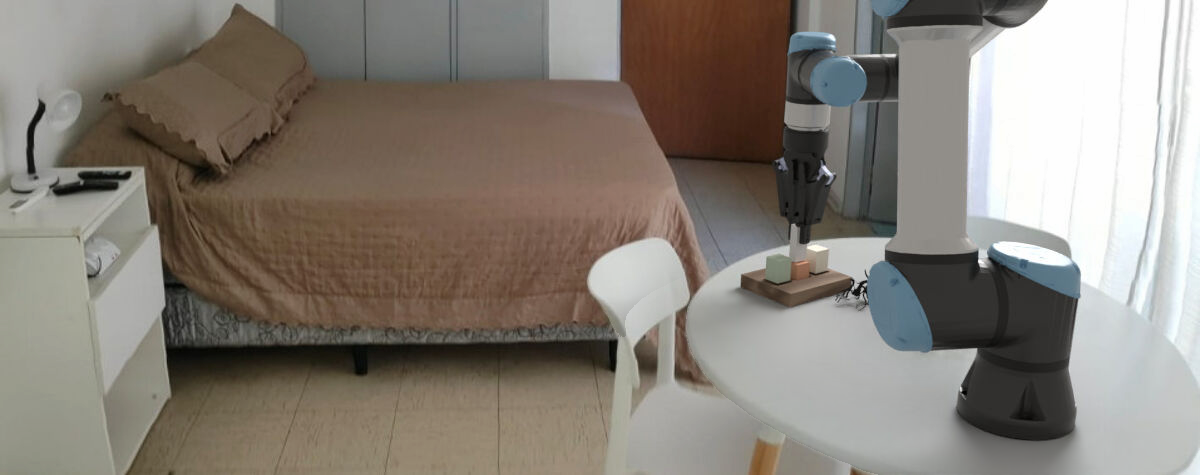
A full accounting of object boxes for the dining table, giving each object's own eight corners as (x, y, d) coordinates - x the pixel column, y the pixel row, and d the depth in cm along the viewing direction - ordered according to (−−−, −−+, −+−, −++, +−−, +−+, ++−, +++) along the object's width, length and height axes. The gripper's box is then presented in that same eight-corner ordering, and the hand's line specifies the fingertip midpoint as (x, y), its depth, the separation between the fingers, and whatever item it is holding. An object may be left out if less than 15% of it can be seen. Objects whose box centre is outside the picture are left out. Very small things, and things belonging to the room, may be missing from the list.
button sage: (790, 280, 203) (791, 258, 202) (777, 283, 201) (779, 261, 200) (777, 275, 205) (779, 253, 204) (765, 278, 203) (766, 256, 202)
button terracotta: (808, 283, 206) (809, 262, 205) (796, 287, 204) (797, 265, 203) (795, 279, 208) (797, 257, 207) (783, 282, 207) (785, 260, 205)
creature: (849, 319, 196) (891, 304, 198) (845, 290, 194) (887, 275, 196) (825, 303, 203) (865, 289, 205) (821, 274, 202) (862, 260, 204)
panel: (851, 290, 206) (852, 277, 206) (789, 307, 198) (790, 293, 197) (800, 271, 215) (801, 259, 215) (740, 287, 207) (741, 274, 206)
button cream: (827, 270, 208) (829, 248, 207) (815, 273, 206) (817, 251, 205) (814, 266, 210) (816, 244, 209) (802, 269, 209) (804, 247, 208)
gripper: (851, 130, 195) (840, 266, 202) (794, 116, 205) (785, 246, 212) (819, 135, 191) (809, 274, 198) (763, 121, 201) (755, 254, 208)
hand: (797, 259), depth 205 cm, fingers closed
